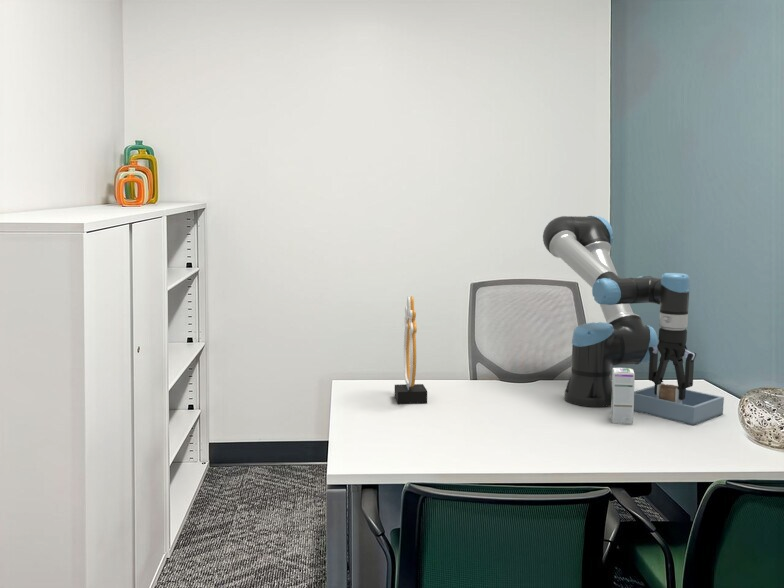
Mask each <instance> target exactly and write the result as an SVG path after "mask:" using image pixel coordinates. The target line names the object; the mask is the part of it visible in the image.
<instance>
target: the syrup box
mask: <svg viewBox="0 0 784 588" xmlns="http://www.w3.org/2000/svg"><path fill="white" fill-rule="evenodd" d="M635 375H636V374H635V372H634V369H633V368H630V367H612V368H611V380H612V396H611V405H610V420H611V423H613V424H620V425H621V424H623V425H624V424H625V425H633V423H634V415H635V414H634V412H635V411H634V391H635V377H636V376H635Z"/></svg>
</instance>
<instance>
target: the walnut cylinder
mask: <svg viewBox="0 0 784 588" xmlns="http://www.w3.org/2000/svg"><path fill="white" fill-rule="evenodd" d="M677 387H678V385H675V384H665V385H661V388H660V399H663V400H667V401H672V402H675V390H676V388H677Z"/></svg>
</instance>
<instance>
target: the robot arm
mask: <svg viewBox="0 0 784 588" xmlns="http://www.w3.org/2000/svg"><path fill="white" fill-rule="evenodd" d="M613 235H614V232H613V227H612V225H611V224H610V223H609V221H608V220H607V219H606V218H604V217H602V216H595V215H587V216H574V215H573V216H570V215H569V216H566V215H565V216H564V215H562V216H558V217H555V218H553V219H551V220H550V221H549V222H548V224H547V225H546V226H545V228H544V230H543V234H542V241H543V245H544V247H545V249H546V250H547V251H548V252H549V254H551V256H553V257H554V258H557V259H559V258H560V259H561V260H562V261H563V262H564V263H565V264H566V265H567V266H568V267H569V268H571V270H573V271H574V272H575V273H576V274H577V275H578V276H579V277H580V278H581V279H582V280H583V281H584V282H585V283H587V284H588V285H589V286H590V288H592V289H591V292H592V297H593V298H594V301H595V302H596V303H597V304H599V306H600V308H601V312H602V314H603V317H604V319H605V321H606V322H601V321H600V322H587V323H583V324H580V325H578V326H576V327H575V328H574V330H573V333H572V340H571V344H572V345H571V346H572V352H571V373H570V376H569V379H568V382H567V384H566V386H565V387H566V388H565V390H564V400H565V401H566V402H567V403H569V404H573V405H578V406H581V407H593V408H598V407H599V408H600V407H602V408H603V407H604V408H605V407H611V396H612V366H622V365H623V366H624V365H625V366H626V365H639V364H640V365H641V364H645V363H649V364H648V365H649V366H648V380H649V381H652V382H653V384H654V385H655V389H654V390H655V391H654V393H655V395H657V398H659V399H660V388H661V385H666V384H665V383H664V377H665V374H666V371H667V367H668V364H669V362H670V361H671V362H672V365H673V367H674V370H675V376H676V382H677V386H678V387H677V388H676V390H675V402H676V403H681V404H682V400H684V399H685V391H686V389H689V388H692V387H693V385H694V368H695V367H694V366H695V359H696V357H697V353H696V352H691V351H690V350H688V347H687V340H688V330H687V328H688V325H689V323H688V321H689V318H688V317H689V305H690V303H689V301H690V291H691V287H690V286H691V285H690V283H691V282H690V276H689V274H686V273H679V272H665V273H663V274H662V275H661V278H659V277H656V276H655V277H653V276H651V275H640V276H637V277H620V276H619V275H618V272H617V270H616V268H615V265H614V263H613V261H612V257H611V255H610V251H611V248H612V244H613V242H614V236H613ZM631 304H655V305H658V306H659V319H658V320H659V329H658V334H657V332H656V330H655V329H654V328H653V327H652V326H651V325H648V324H644V322H643V320H642V318H641V316H640V315H638V314H636V313H634V312H633V309H632V307H631ZM659 355H660V358H659ZM684 355H685V357H684ZM683 357H684V358H685V363H684V360H683V359H684V358H683ZM658 361H659V362H658ZM684 365H685V366H684Z"/></svg>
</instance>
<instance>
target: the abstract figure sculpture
mask: <svg viewBox="0 0 784 588" xmlns="http://www.w3.org/2000/svg"><path fill="white" fill-rule="evenodd" d="M406 299H407V300H406V306H405V308H404V313H405V315H404V316H405V317H404V335H403V368H404V370H403V371H404V373H403V374H404V381H405V384H394V399H395V402H396V403H397V405H419V404H420V405H421V404H424V405H425V404H428V390H427V388H426V387H425V384H423V383H422V384H421V383H417V384H416V376H417V375H416V374H417V338H416V334H417V329H418V328H417V322H416V319H417V318H416V317H417V311H416V310H415V300H414V296H406Z"/></svg>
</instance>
